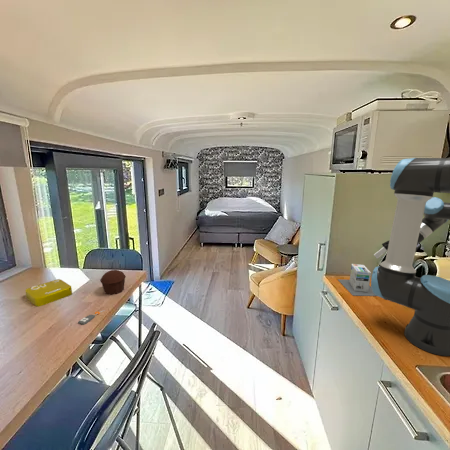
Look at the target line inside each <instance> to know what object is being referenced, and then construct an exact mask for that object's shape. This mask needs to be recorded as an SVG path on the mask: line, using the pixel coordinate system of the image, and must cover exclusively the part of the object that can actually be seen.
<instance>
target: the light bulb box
mask: <svg viewBox="0 0 450 450" xmlns="http://www.w3.org/2000/svg"><path fill="white" fill-rule="evenodd" d="M350 267H351V268H350V275H349V280H350V281H349V282H350V284H351V286H352V287H353V289H354V291H362V292H368V291H369V285H370V284H371V277H372V272H371V271H370V270H369V268H368V267H366V265H365V264H360V263H359V264H357V263H351V266H350Z"/></svg>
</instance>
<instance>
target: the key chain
mask: <svg viewBox="0 0 450 450" xmlns="http://www.w3.org/2000/svg"><path fill="white" fill-rule="evenodd" d="M105 311H106V310H101V311H95V312H94V314H89V315H87V316H85V317H82V319H79V320H78V321H77V324H78V325H83V326H85V325H86V324H88V323H89V322H91V321H92V320H93V319H94V318H95V317H96V316H97V315H100V314H101V313H102V312H105Z"/></svg>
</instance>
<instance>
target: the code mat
mask: <svg viewBox="0 0 450 450" xmlns="http://www.w3.org/2000/svg"><path fill="white" fill-rule="evenodd" d="M337 281H338V282H339V283H340V284H341V285H342V286H343V287H344V289H346V290H347V291H348V293H350V294H351V295H352V296H353V297H377V296H376V295H375V294H374V293H373V291H372V288H371V284H369V291H368V292H362V291H354V289H353V287H352V286H351V284H350V282H349V281H350V279H340V278H339V279H337Z"/></svg>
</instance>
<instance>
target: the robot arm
mask: <svg viewBox="0 0 450 450" xmlns="http://www.w3.org/2000/svg"><path fill="white" fill-rule="evenodd" d="M389 182H390V183H389V188H390V189H391V190H393V192H394V193H393V194H394V196H395V198H396V199H397V201H396V206H395V211H394V216H393V222H392V226H391V229H390V235H389V240H387V241H385V242H383V243H382V244H381V245H382V247H380V249H378V251H376V252H375V253H374V254H373V256H374V257H375V258H376V259H379V258H380V257H381V256H383V255H384V254H386V257H385V260H384V261H381V262H380V263H379V266H375V267H374V269H372V273H371V277H370V286H371V288H372V291H373V293H374V294H375V295H376V296H375V297H378V298H381V299H383V300H385V301H389V302H391V303H395V304H399V305H401V306H403V307H406V308H410V309H412V310H414V313H413V316H412V317H411V319H410V321H409V323H407V324H406V326H405V329H404V331H403V332H404V336H405V338H406V339H407V340H408V342H410V343H411V344H412V345H414V346H416V347H417V348H418V349H421V350H422V351H426V352H427V353H430V354H433V355H436V356H437V355H438V356H442V357H444V356H445V357H450V280H449V279H446V278H443V277H440V276H438V275H431V274H424V275H422V276H421V277H418V276H416V273H417V270H416V269H415V268H414V266H413V264H414V260H415V259H414V258H415V254H416V253H417V252H418V251H417V250H418V249H419V248H420V247H422V245H421V244H420V243H421V242H422V241H424V240H425V239H426V238H428V237H429V236H430V235H431V234H433V233H434V232H435V231H437V230H438V229H439V228H441V227H442V226H443V225H445V224H446V223H448V221H450V202H444V201H443V199H441V198H439V197H435V196H434V193H440V194H441V193H443V194H450V157H412V158H410V157H409V158H403V159H401V160H399V161H398V162H397V164H396V165H395V167H394V168H393V170H392V174H391V176H390V181H389Z"/></svg>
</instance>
